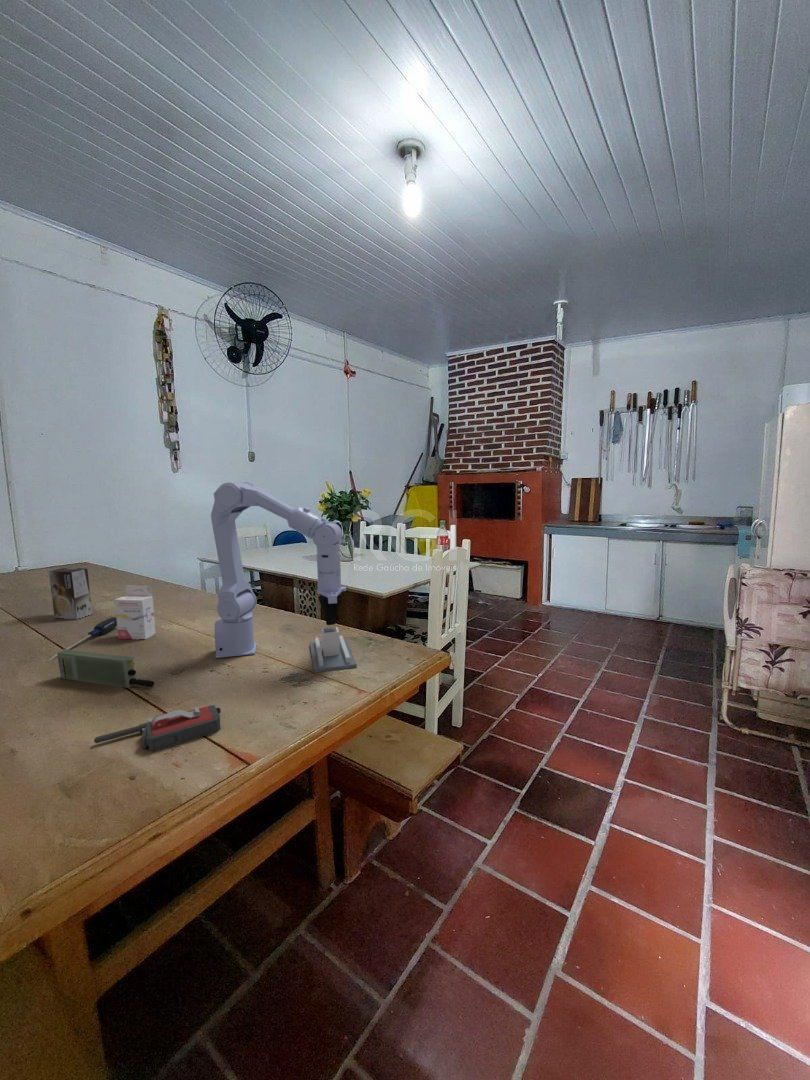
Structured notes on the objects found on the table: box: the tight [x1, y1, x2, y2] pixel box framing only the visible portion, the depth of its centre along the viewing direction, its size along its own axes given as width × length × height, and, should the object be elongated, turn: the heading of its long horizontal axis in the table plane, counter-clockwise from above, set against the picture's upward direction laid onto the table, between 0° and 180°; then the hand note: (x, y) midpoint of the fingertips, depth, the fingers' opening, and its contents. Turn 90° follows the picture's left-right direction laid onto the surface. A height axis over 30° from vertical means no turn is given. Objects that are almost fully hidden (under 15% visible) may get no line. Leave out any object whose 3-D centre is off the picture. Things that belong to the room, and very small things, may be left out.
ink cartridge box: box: [114, 584, 157, 640], centre depth 128 cm, size 9×5×15 cm, turn 84°
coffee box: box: [48, 567, 93, 620], centre depth 148 cm, size 9×6×16 cm
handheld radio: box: [56, 648, 155, 689], centre depth 99 cm, size 7×3×25 cm
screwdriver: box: [47, 616, 117, 662], centre depth 125 cm, size 26×4×4 cm, turn 179°
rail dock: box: [309, 634, 358, 673], centre depth 114 cm, size 10×18×2 cm, turn 15°
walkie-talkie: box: [93, 704, 222, 753], centre depth 78 cm, size 9×4×20 cm
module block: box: [321, 626, 340, 656], centre depth 113 cm, size 4×4×6 cm
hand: (330, 624), depth 113 cm, fingers closed
